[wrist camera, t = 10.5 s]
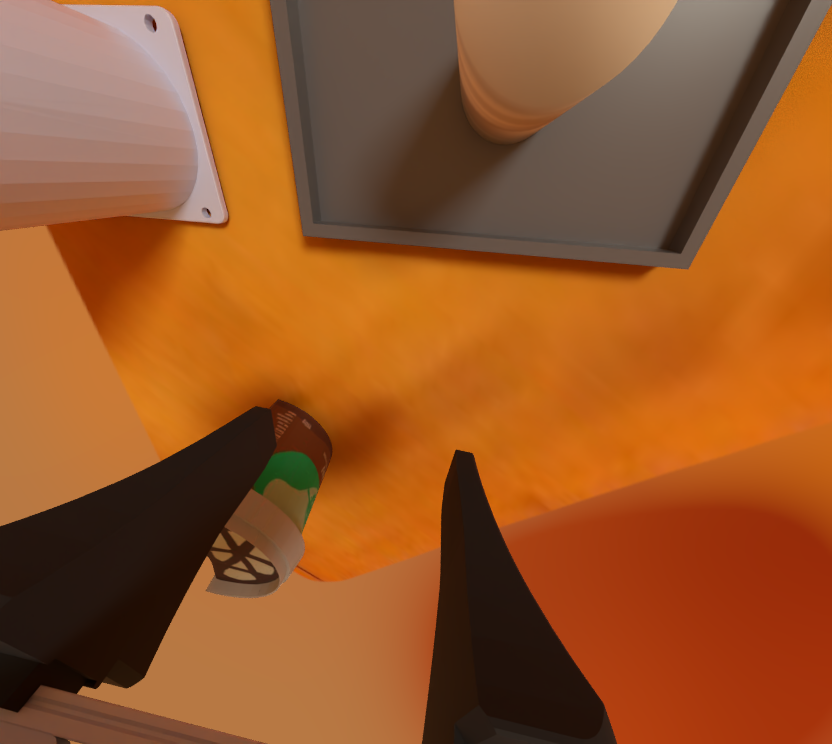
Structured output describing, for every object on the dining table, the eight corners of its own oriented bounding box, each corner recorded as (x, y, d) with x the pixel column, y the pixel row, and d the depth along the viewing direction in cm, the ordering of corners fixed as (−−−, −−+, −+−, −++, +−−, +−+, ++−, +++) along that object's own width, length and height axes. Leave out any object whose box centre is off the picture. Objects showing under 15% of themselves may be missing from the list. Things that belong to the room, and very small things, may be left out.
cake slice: (337, 496, 30) (288, 617, 22) (278, 479, 30) (206, 593, 22) (354, 408, 24) (292, 535, 15) (277, 385, 23) (173, 501, 15)
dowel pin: (458, 147, 13) (449, 113, 6) (463, 9, 11) (457, -259, 4) (556, 142, 13) (657, 98, 6) (581, -5, 10) (786, -336, 4)
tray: (318, 230, 17) (303, 235, 15) (272, -167, 10) (237, -227, 8) (666, 259, 15) (688, 269, 14) (888, -191, 8) (979, -270, 7)
